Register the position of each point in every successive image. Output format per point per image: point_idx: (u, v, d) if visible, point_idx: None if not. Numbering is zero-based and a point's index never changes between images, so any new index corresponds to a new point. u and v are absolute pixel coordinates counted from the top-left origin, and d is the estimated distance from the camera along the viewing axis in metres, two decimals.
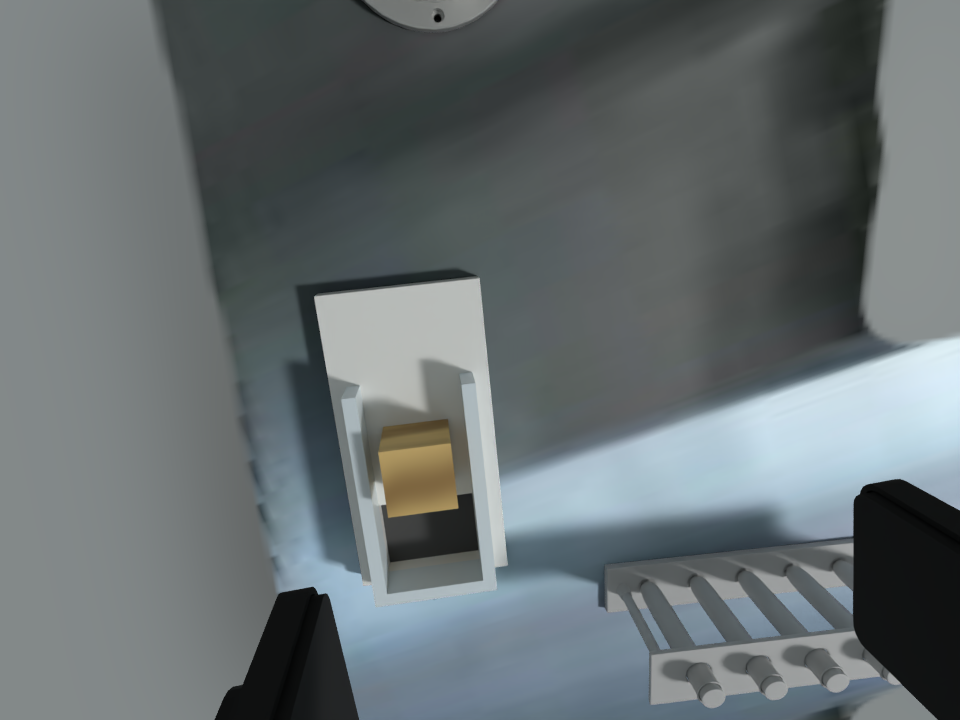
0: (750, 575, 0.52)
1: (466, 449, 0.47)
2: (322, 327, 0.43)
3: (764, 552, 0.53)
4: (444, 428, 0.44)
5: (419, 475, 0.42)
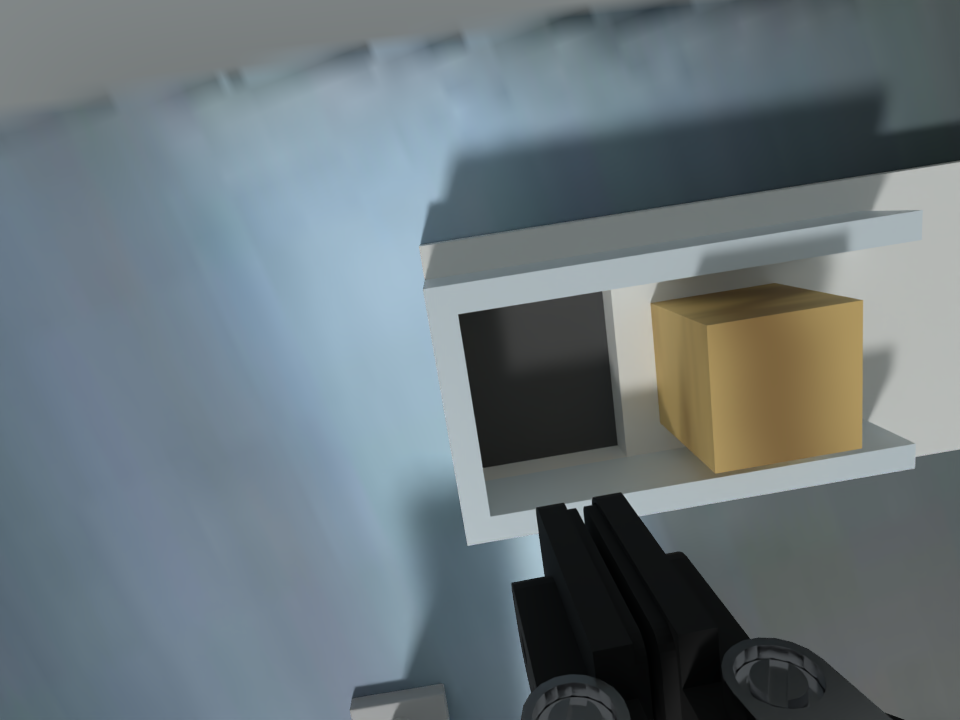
0: None
1: None
2: None
3: None
4: None
5: (800, 389, 0.19)
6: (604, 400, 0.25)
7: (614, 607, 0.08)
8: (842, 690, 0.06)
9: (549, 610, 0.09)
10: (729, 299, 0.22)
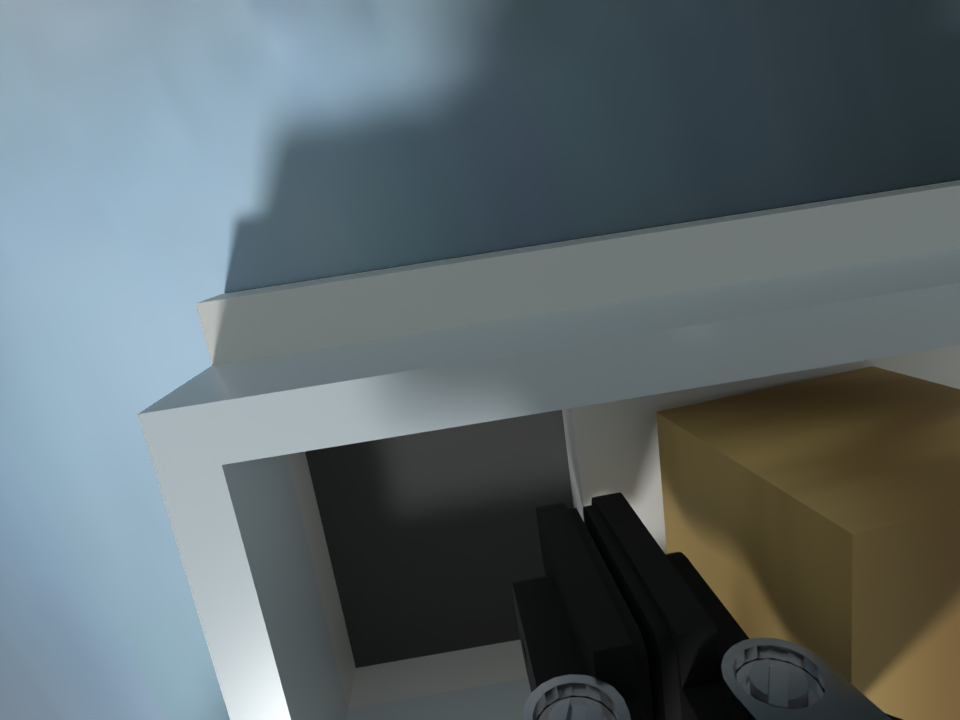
0: None
1: None
2: None
3: None
4: None
5: None
6: None
7: (614, 607, 0.08)
8: (842, 690, 0.06)
9: (550, 610, 0.09)
10: (822, 415, 0.11)
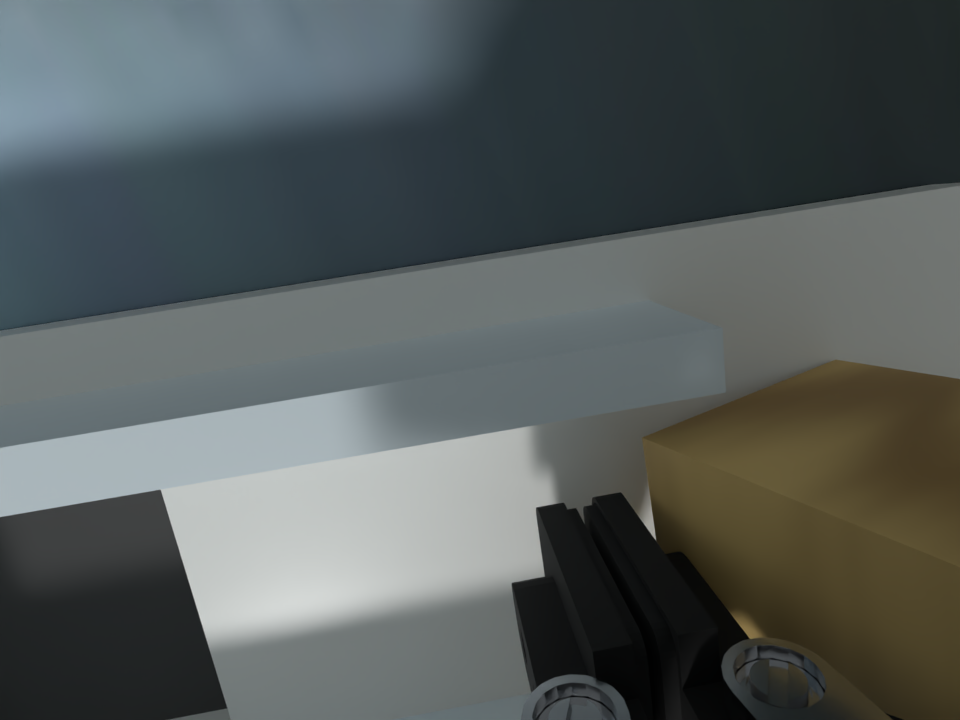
0: None
1: (408, 713, 0.13)
2: (879, 210, 0.12)
3: None
4: None
5: None
6: None
7: (614, 607, 0.08)
8: (842, 690, 0.06)
9: (550, 610, 0.09)
10: (825, 420, 0.10)
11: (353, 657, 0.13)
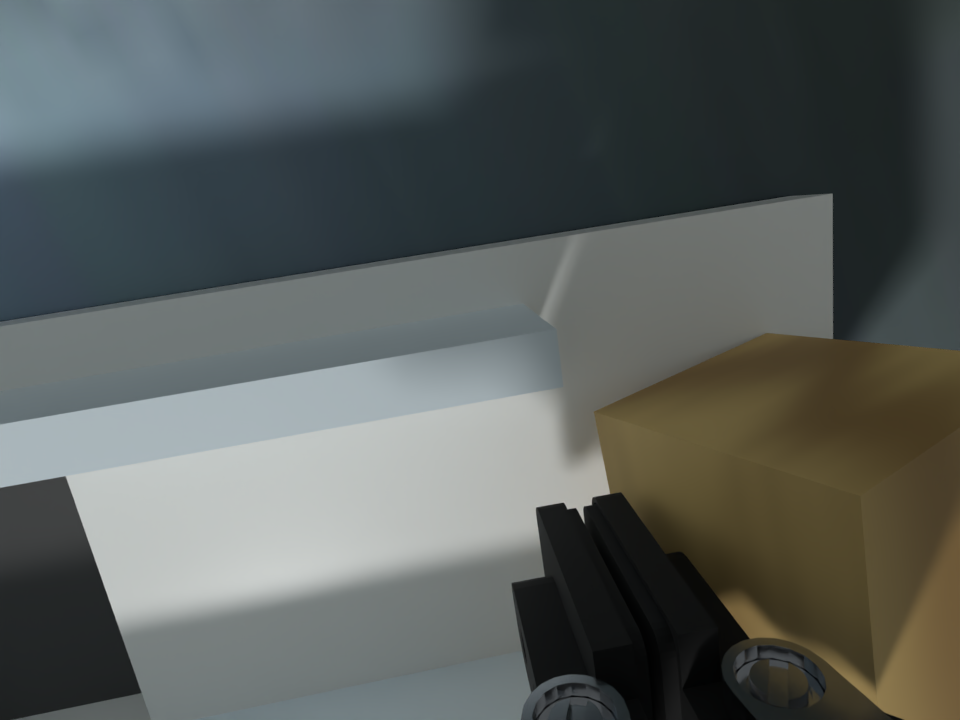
0: None
1: (314, 691, 0.14)
2: (731, 220, 0.13)
3: None
4: None
5: None
6: None
7: (614, 607, 0.08)
8: (842, 690, 0.06)
9: (550, 610, 0.09)
10: (753, 385, 0.11)
11: (259, 639, 0.14)
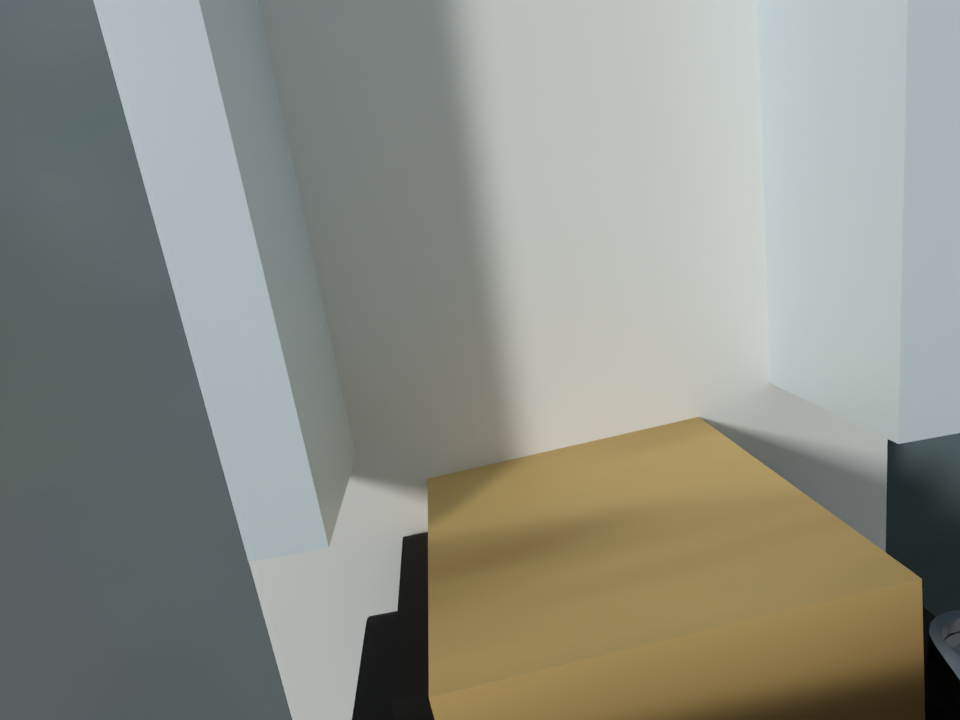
0: None
1: (278, 68, 0.09)
2: None
3: None
4: None
5: None
6: None
7: None
8: None
9: (393, 648, 0.09)
10: None
11: None
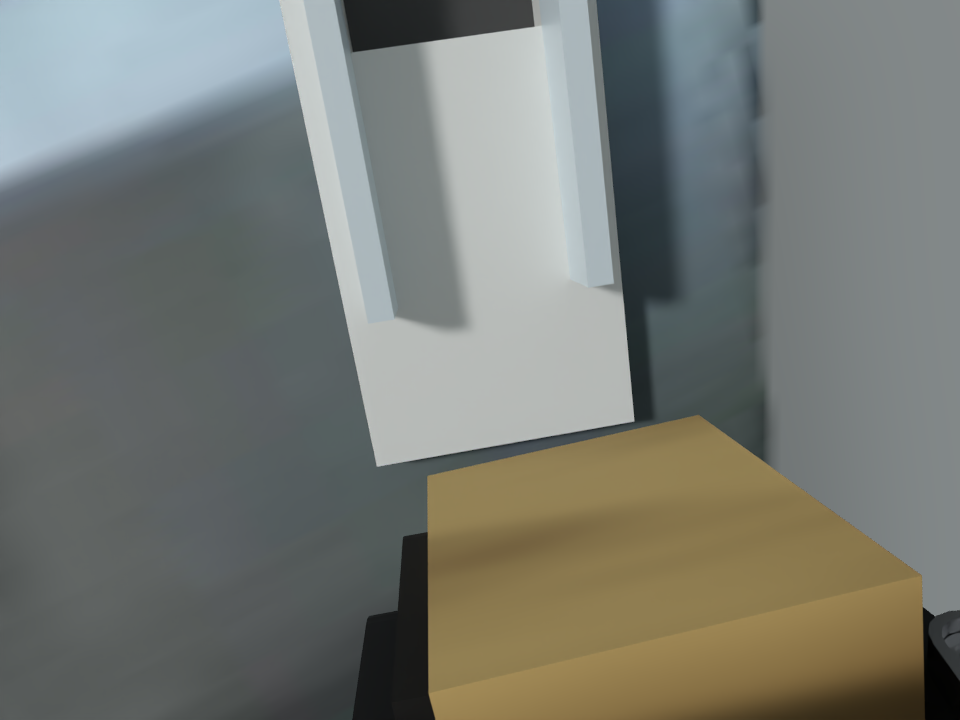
0: None
1: (372, 154, 0.24)
2: (625, 374, 0.27)
3: None
4: None
5: None
6: (405, 43, 0.24)
7: None
8: None
9: (393, 648, 0.09)
10: None
11: (409, 125, 0.24)
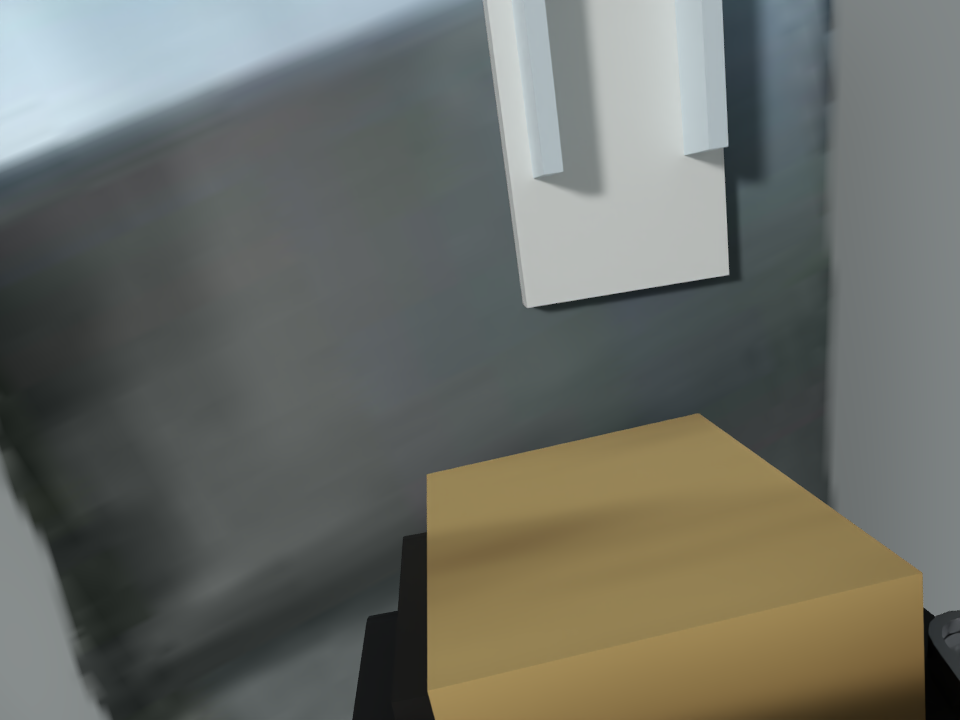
0: None
1: None
2: (723, 235, 0.34)
3: None
4: None
5: None
6: None
7: None
8: None
9: (393, 649, 0.09)
10: None
11: (568, 28, 0.31)
